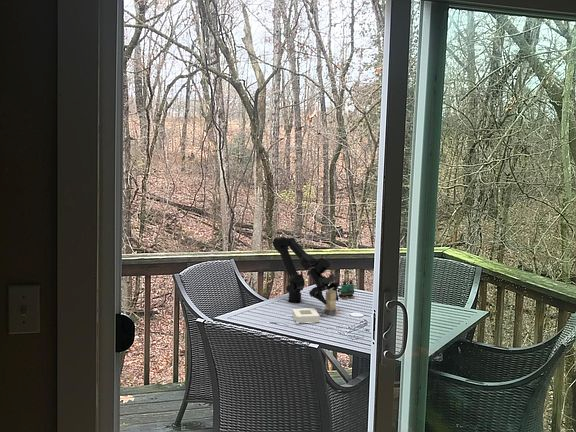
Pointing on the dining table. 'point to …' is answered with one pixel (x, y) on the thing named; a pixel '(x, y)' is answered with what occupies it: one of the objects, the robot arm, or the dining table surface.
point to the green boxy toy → (347, 290)
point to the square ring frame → (305, 315)
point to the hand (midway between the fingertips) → (332, 302)
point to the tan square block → (330, 302)
